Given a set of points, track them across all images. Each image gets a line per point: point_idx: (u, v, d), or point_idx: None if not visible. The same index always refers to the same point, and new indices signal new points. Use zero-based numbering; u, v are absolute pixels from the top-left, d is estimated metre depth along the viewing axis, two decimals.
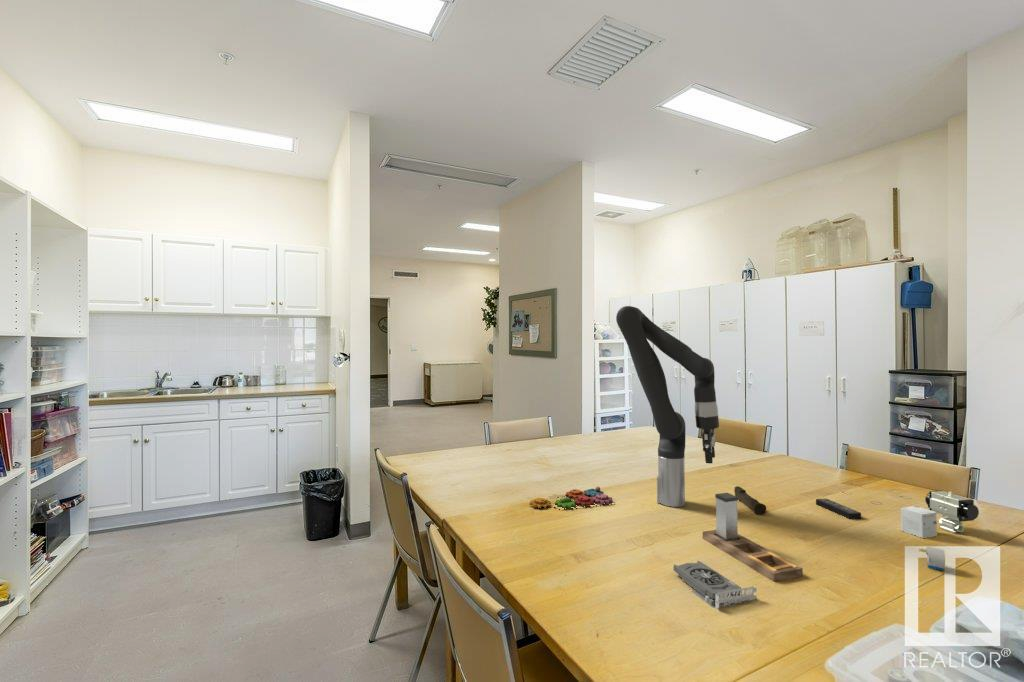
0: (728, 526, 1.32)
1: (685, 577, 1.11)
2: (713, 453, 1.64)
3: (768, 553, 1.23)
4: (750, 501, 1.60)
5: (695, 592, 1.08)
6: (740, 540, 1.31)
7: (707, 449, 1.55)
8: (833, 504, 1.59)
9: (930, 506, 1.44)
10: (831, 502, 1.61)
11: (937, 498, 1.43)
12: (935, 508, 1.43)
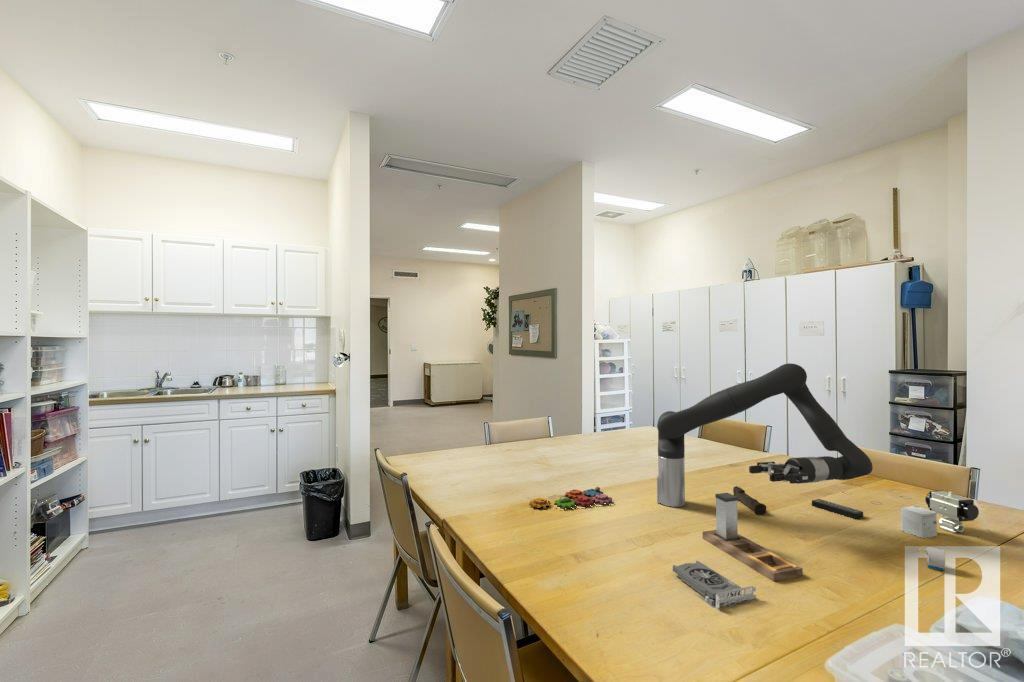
0: (728, 526, 1.32)
1: (684, 577, 1.11)
2: (755, 472, 1.40)
3: (768, 553, 1.23)
4: (750, 501, 1.60)
5: None
6: (740, 540, 1.31)
7: (793, 479, 1.30)
8: (832, 504, 1.59)
9: (930, 506, 1.44)
10: (828, 502, 1.61)
11: (937, 498, 1.43)
12: (935, 508, 1.43)
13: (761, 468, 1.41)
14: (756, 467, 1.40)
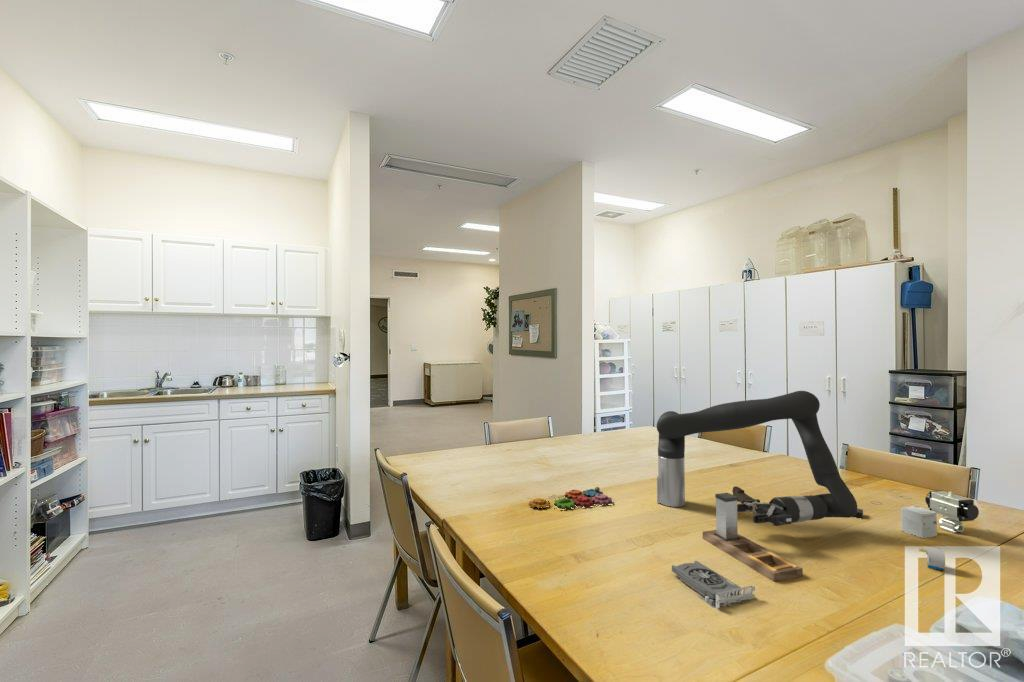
0: (728, 526, 1.32)
1: (684, 577, 1.11)
2: (739, 510, 1.39)
3: (768, 553, 1.23)
4: None
5: None
6: (740, 540, 1.31)
7: (777, 521, 1.29)
8: None
9: (930, 506, 1.44)
10: None
11: (937, 498, 1.43)
12: (935, 508, 1.43)
13: (745, 507, 1.40)
14: (740, 506, 1.39)
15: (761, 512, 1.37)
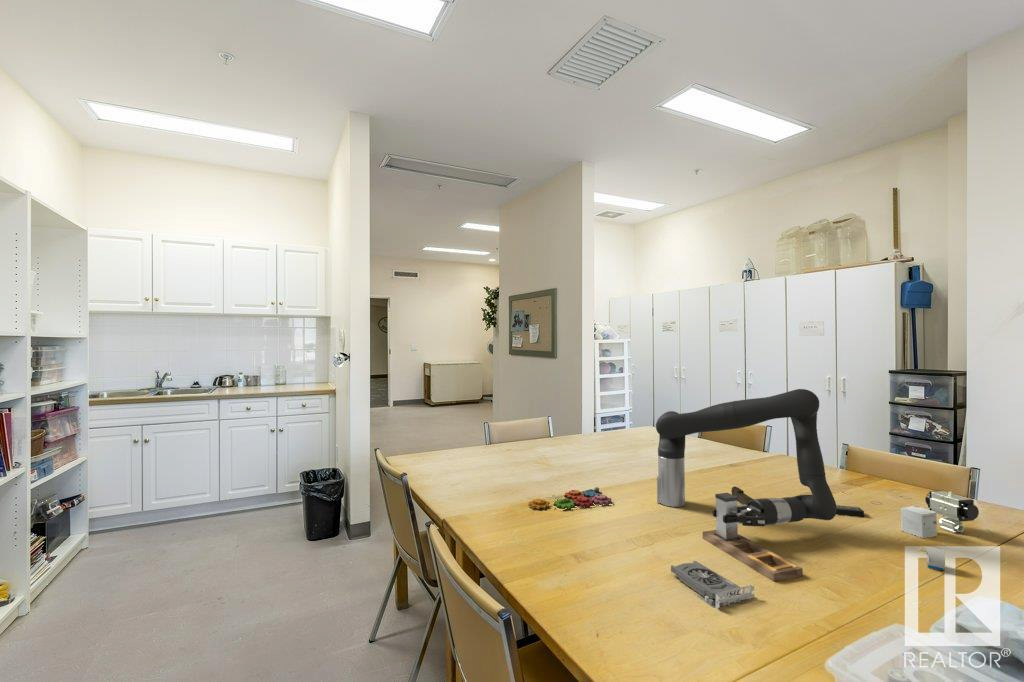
0: (728, 526, 1.32)
1: (683, 578, 1.11)
2: None
3: (768, 553, 1.23)
4: None
5: None
6: (740, 540, 1.31)
7: (746, 521, 1.29)
8: None
9: (930, 506, 1.44)
10: None
11: (937, 498, 1.43)
12: (935, 508, 1.43)
13: None
14: None
15: None
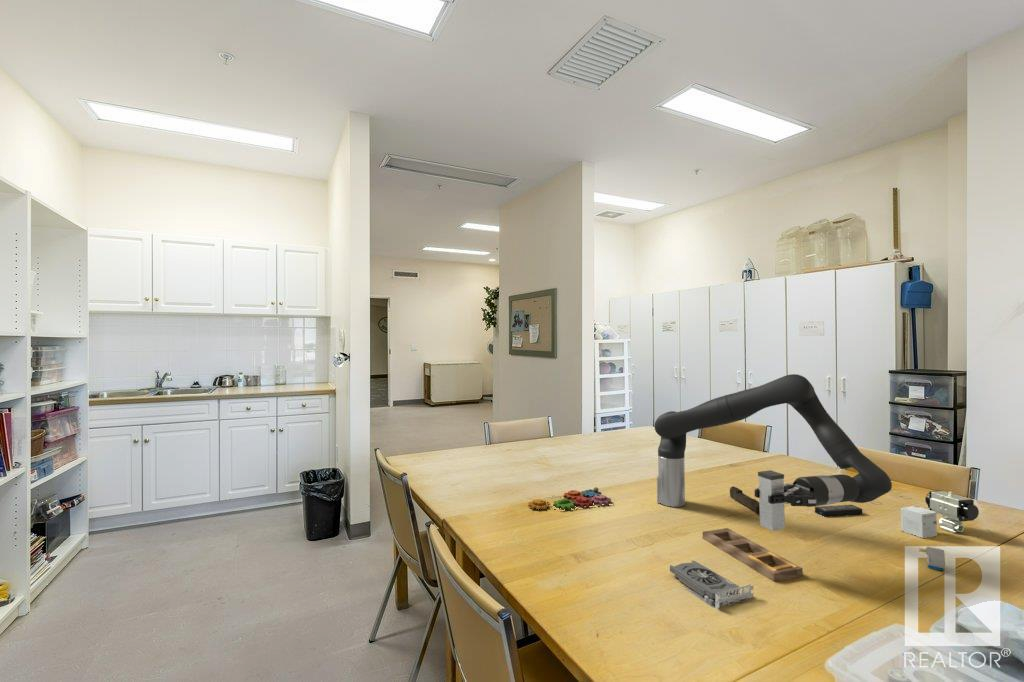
0: (774, 507, 1.17)
1: (682, 577, 1.11)
2: None
3: (768, 553, 1.23)
4: (750, 501, 1.60)
5: (693, 592, 1.08)
6: (740, 540, 1.31)
7: (795, 501, 1.14)
8: (836, 508, 1.55)
9: (930, 506, 1.44)
10: (829, 507, 1.56)
11: (937, 498, 1.43)
12: (935, 508, 1.43)
13: None
14: None
15: None
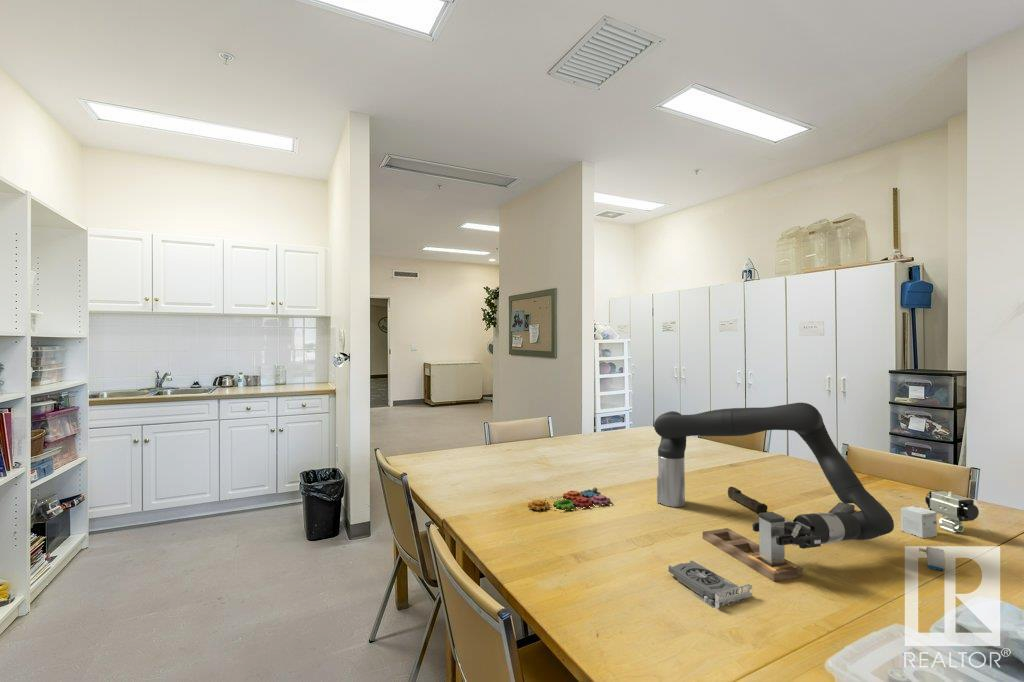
0: (774, 550, 1.16)
1: (681, 578, 1.11)
2: None
3: None
4: (750, 501, 1.60)
5: None
6: (740, 540, 1.31)
7: (804, 544, 1.12)
8: (842, 509, 1.54)
9: (930, 506, 1.44)
10: (837, 510, 1.53)
11: (937, 498, 1.43)
12: (935, 508, 1.43)
13: None
14: None
15: (785, 532, 1.20)
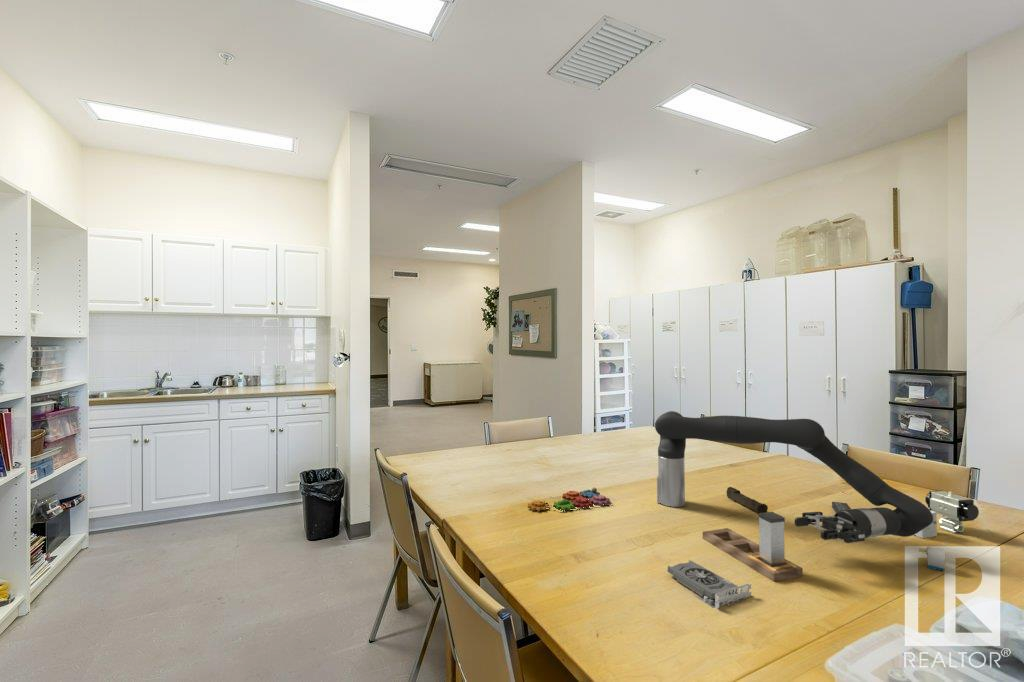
0: (774, 550, 1.16)
1: (681, 578, 1.11)
2: (801, 524, 1.25)
3: None
4: (750, 502, 1.60)
5: None
6: (740, 540, 1.31)
7: (849, 538, 1.15)
8: None
9: (930, 506, 1.44)
10: None
11: (937, 498, 1.43)
12: (935, 508, 1.43)
13: (808, 520, 1.25)
14: (802, 519, 1.25)
15: (827, 527, 1.22)
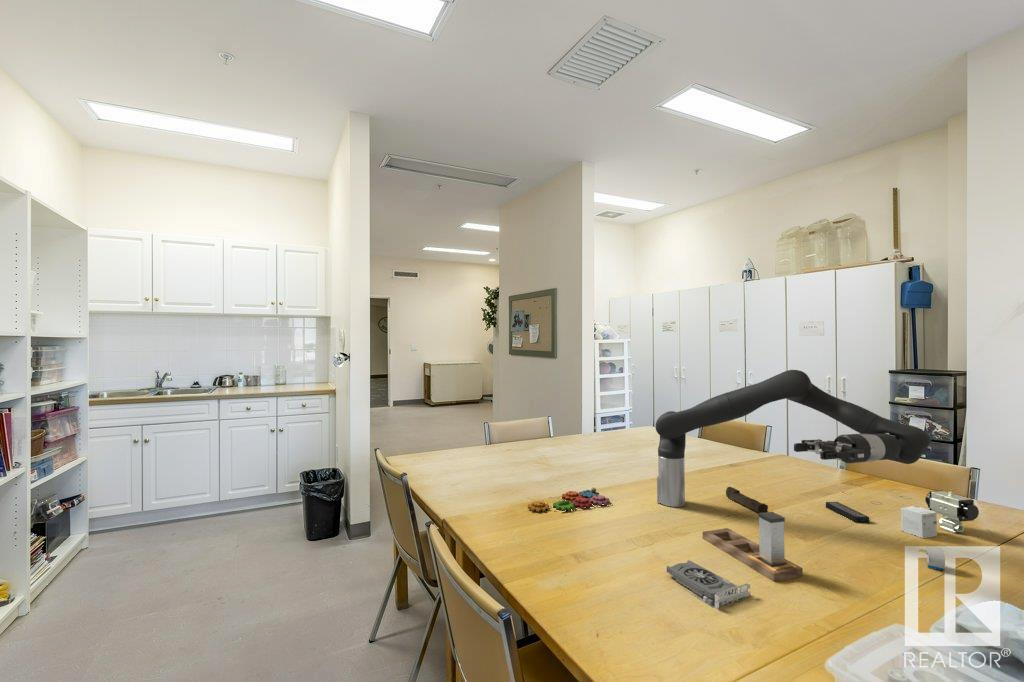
0: (774, 550, 1.16)
1: (680, 578, 1.11)
2: (800, 450, 1.25)
3: None
4: (750, 502, 1.59)
5: None
6: (740, 540, 1.31)
7: (848, 457, 1.15)
8: (850, 510, 1.54)
9: (930, 506, 1.44)
10: (851, 512, 1.52)
11: (937, 498, 1.43)
12: (935, 508, 1.43)
13: (807, 446, 1.25)
14: (802, 445, 1.25)
15: None
